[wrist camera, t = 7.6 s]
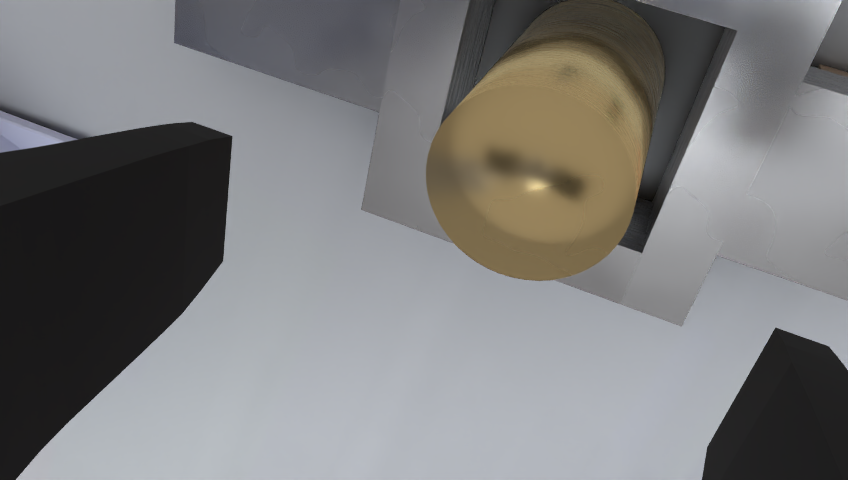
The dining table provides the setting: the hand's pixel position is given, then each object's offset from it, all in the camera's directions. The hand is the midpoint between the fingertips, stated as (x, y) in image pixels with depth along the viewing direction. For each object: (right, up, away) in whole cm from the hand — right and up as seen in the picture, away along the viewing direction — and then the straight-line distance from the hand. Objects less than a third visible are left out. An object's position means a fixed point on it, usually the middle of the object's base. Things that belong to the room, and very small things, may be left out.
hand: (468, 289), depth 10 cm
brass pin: (+3, +4, +7) cm, 8 cm away
